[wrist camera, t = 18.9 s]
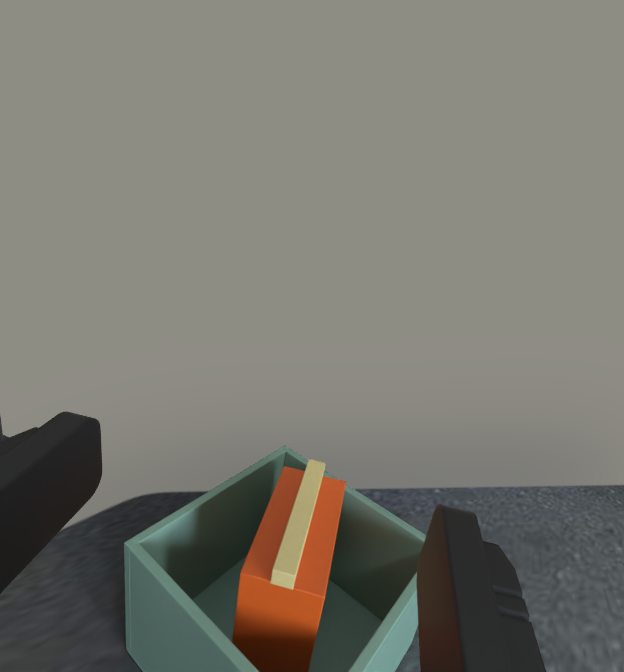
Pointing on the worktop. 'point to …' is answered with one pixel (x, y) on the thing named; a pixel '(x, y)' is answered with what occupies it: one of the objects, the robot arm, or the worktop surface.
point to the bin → (224, 572)
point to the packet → (288, 571)
